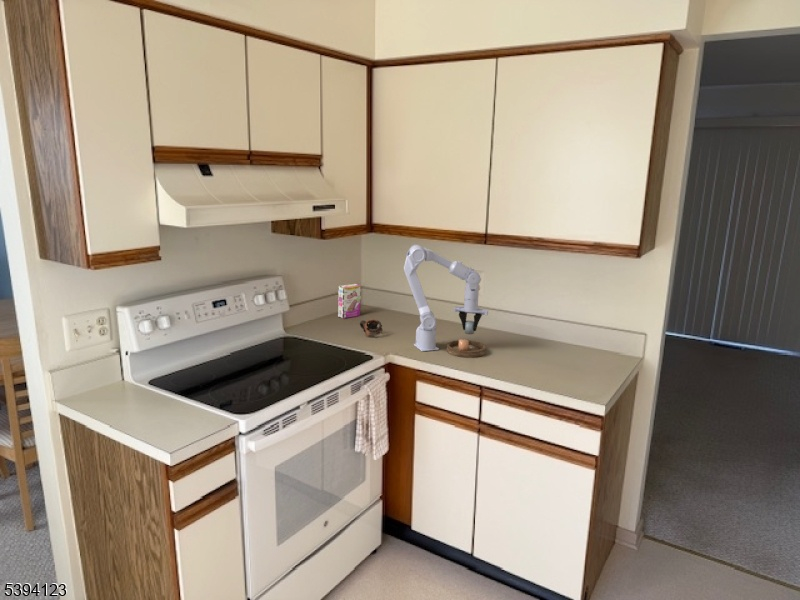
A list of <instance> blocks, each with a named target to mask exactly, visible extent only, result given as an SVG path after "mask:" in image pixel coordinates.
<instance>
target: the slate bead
mask: <svg viewBox="0 0 800 600" xmlns="http://www.w3.org/2000/svg"><path fill="white" fill-rule="evenodd" d="M464 334H466V335H474V334H475V331H474V320H466V321H465V330H464Z"/></svg>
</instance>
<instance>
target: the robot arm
mask: <svg viewBox="0 0 800 600" xmlns="http://www.w3.org/2000/svg"><path fill="white" fill-rule="evenodd" d="M424 261H425V262H434V263H437V264H438V265H440V266H442V267H444V268H446V269H448V272H449V274H451V275H452V276H454V277H457V278H459V279H460V280H462V281H465V287H464V301H463V304H464V305H463V306H454V307H453V313H458V318H459V319H460V321H461V325H462V330H463V331H465V321H467V315H468V314H473V321H474V332H476V331H477V329H478V325H479V323H480V320H481V319H482V317H483V316H489V309H482V308H478V307H479V294H480V293H479V290H480V288H479V285H480V283H481V280H482V277H481V276H480V275H481V274H480V273H479V272H477V270H475V268H473V267H471V266H467V265H465V264H463V261H461V260H455V261H452V260H449V259H448V258H445V257H444V256H442V255H440V254H439V253H437V252H435V250H432V249H430V248H428V247H423V246H422V245H420V244H413V245H411V247H409V249H408V251H407V253H406V258H405V262H404V265H403V271H404V274H405V277H406V280H407V282H408V285H409V288H410V290H411V293H412V296H413V298H414V302H415V304H416V306H417V309H418V312H419V321H420V325H419V326H417V328H416V330H415V343H413V346H414V347H416V348H417V349H418V350H420V351H421V352H428V351H438V350H440V348H439V347H437V346H436V344H437V343H436V341H437V338H436V335H437V319H436V318H435V314H434V312H432V311H431V309H430V306H429V304H428V302H427V298H426V295H425V294H424V291H423V288H422V285H421V282H420V280H419V277H418V273H417V269H418V268H419V266H420V265H421V264H422V263H423V262H424Z"/></svg>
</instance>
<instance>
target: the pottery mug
mask: <svg viewBox="0 0 800 600" xmlns="http://www.w3.org/2000/svg"><path fill="white" fill-rule="evenodd" d="M378 325H379V326H378ZM359 326H360V328H361V329H362V331H363V332H364V333H365V335H364V336H365V337H367V338H369V337H370V336H374V335H378V334H381V332H383V325H382V322H381V321H379V320H378V319H375V318H371V319H368V320H361V321H360V322H359Z"/></svg>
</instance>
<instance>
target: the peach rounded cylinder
mask: <svg viewBox="0 0 800 600" xmlns="http://www.w3.org/2000/svg"><path fill="white" fill-rule="evenodd" d="M458 340H459V347H458V350H461V351H468V343H469V341H468V339H465V338H461V339H458Z"/></svg>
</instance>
